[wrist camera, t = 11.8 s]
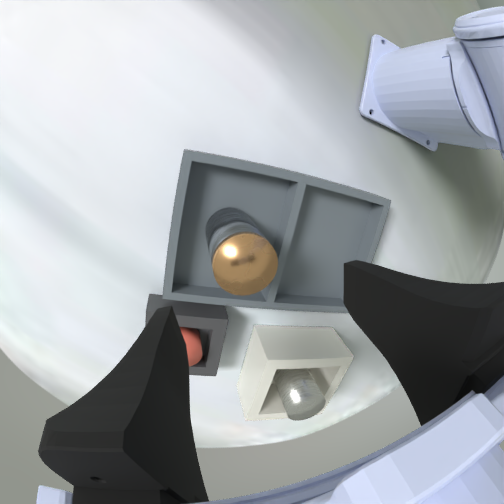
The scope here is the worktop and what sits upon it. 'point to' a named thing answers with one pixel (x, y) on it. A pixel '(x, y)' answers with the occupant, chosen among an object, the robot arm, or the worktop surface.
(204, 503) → the robot arm
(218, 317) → the box
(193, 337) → the tester button
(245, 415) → the cup
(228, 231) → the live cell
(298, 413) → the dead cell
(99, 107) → the worktop surface
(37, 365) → the worktop surface
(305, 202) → the tray
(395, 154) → the worktop surface
